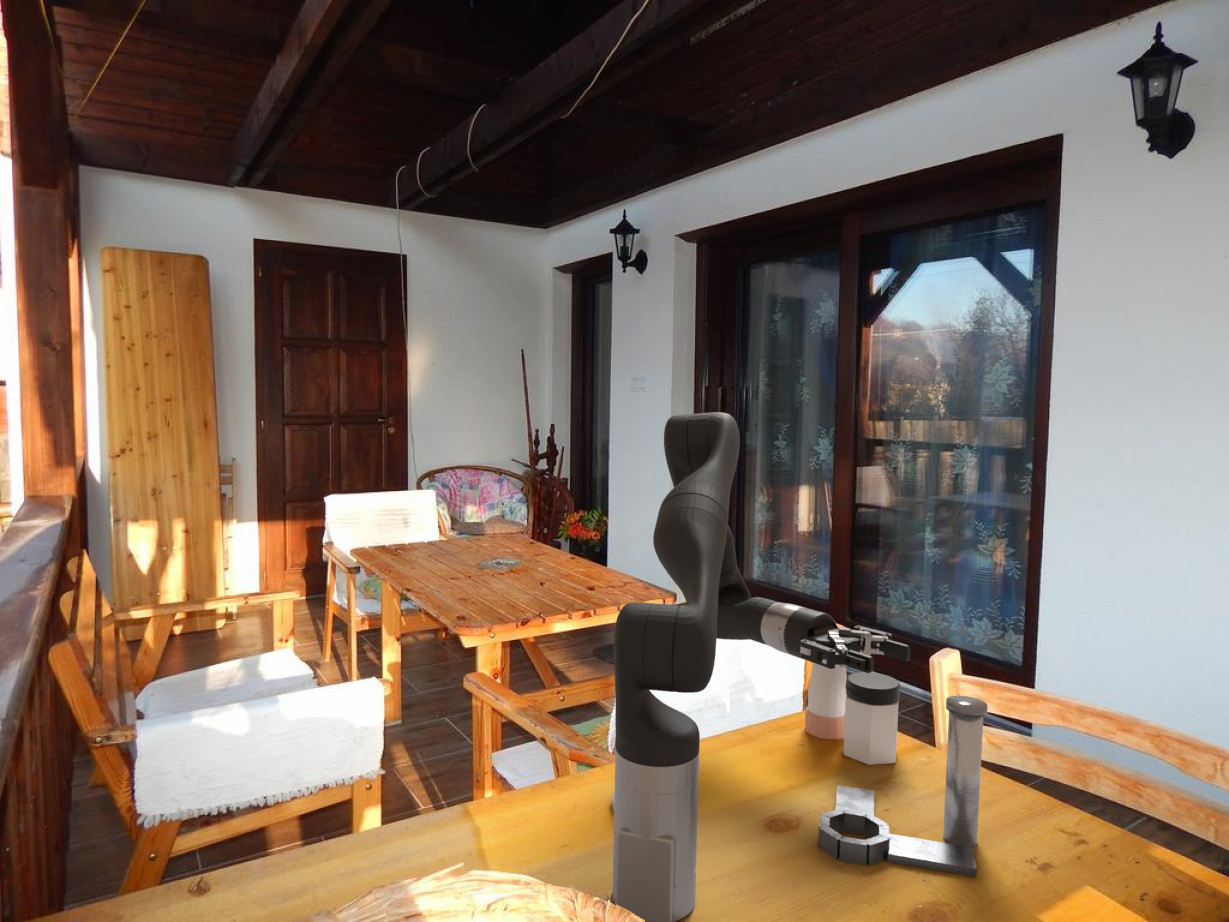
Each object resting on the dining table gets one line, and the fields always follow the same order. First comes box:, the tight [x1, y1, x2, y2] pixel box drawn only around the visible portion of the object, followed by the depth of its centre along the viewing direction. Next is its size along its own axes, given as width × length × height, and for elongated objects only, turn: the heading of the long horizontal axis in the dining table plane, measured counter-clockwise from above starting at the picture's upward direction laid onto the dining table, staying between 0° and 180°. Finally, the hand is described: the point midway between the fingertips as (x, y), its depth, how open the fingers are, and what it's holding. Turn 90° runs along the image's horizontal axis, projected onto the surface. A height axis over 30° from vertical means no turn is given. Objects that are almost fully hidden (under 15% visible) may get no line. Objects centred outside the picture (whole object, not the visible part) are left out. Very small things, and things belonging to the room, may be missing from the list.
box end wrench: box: [817, 784, 978, 878], centre depth 106 cm, size 18×18×2 cm
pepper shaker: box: [804, 621, 848, 741], centre depth 138 cm, size 7×7×19 cm
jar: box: [843, 671, 901, 766], centre depth 129 cm, size 9×8×12 cm
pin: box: [942, 695, 988, 848], centre depth 104 cm, size 5×5×18 cm
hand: (891, 659), depth 112 cm, fingers open, 8 cm apart
